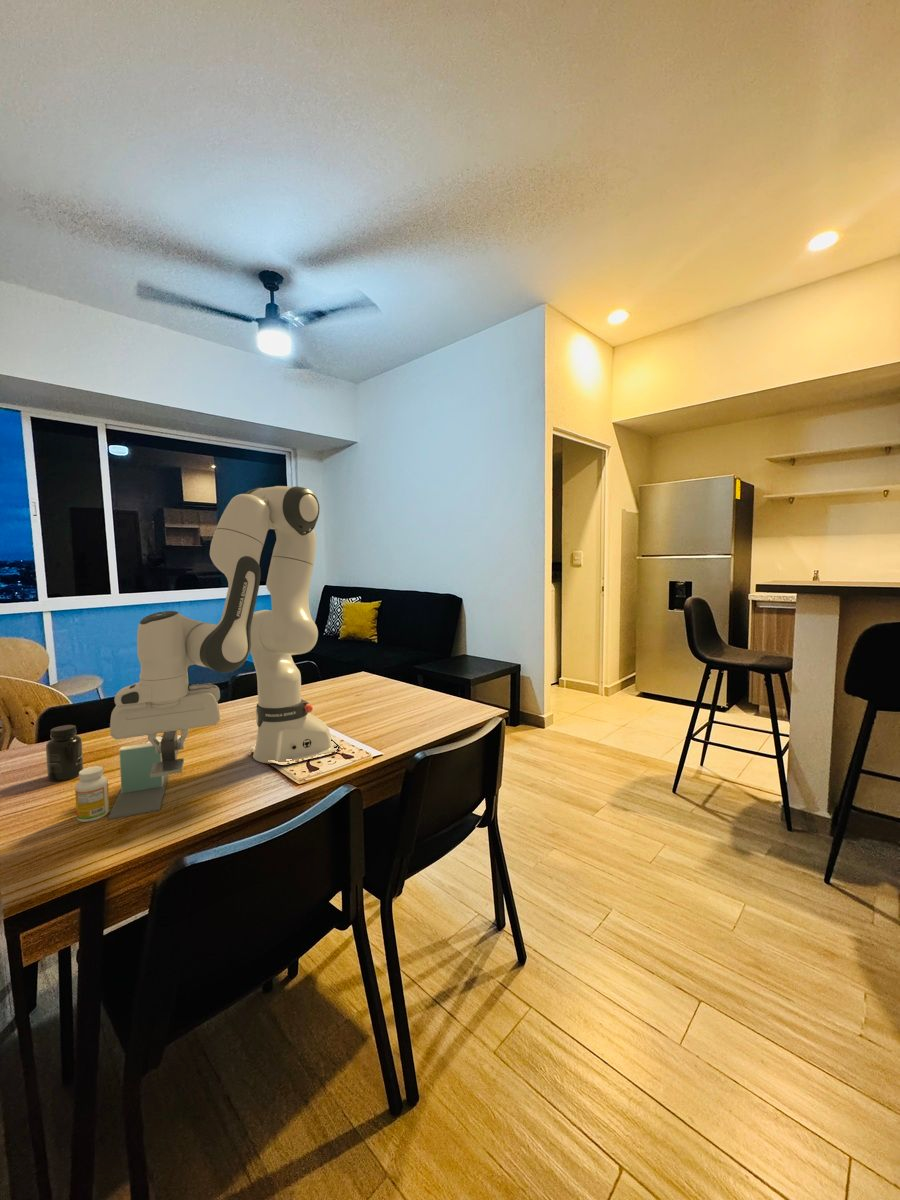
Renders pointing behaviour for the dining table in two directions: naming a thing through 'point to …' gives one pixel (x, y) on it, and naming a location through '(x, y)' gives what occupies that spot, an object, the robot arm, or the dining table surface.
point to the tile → (139, 767)
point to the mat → (138, 801)
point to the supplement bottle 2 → (91, 794)
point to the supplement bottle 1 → (64, 753)
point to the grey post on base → (168, 757)
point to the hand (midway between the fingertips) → (170, 750)
